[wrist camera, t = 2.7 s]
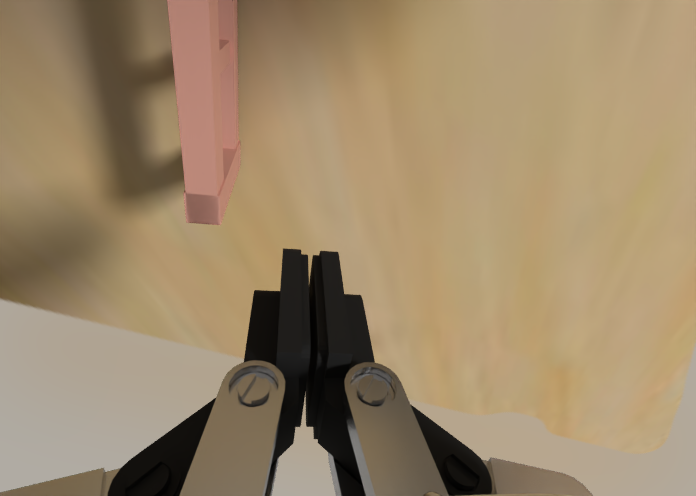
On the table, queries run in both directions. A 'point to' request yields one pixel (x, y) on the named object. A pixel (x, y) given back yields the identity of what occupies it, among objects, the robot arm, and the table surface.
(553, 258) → the table surface
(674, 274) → the table surface
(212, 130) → the gate
